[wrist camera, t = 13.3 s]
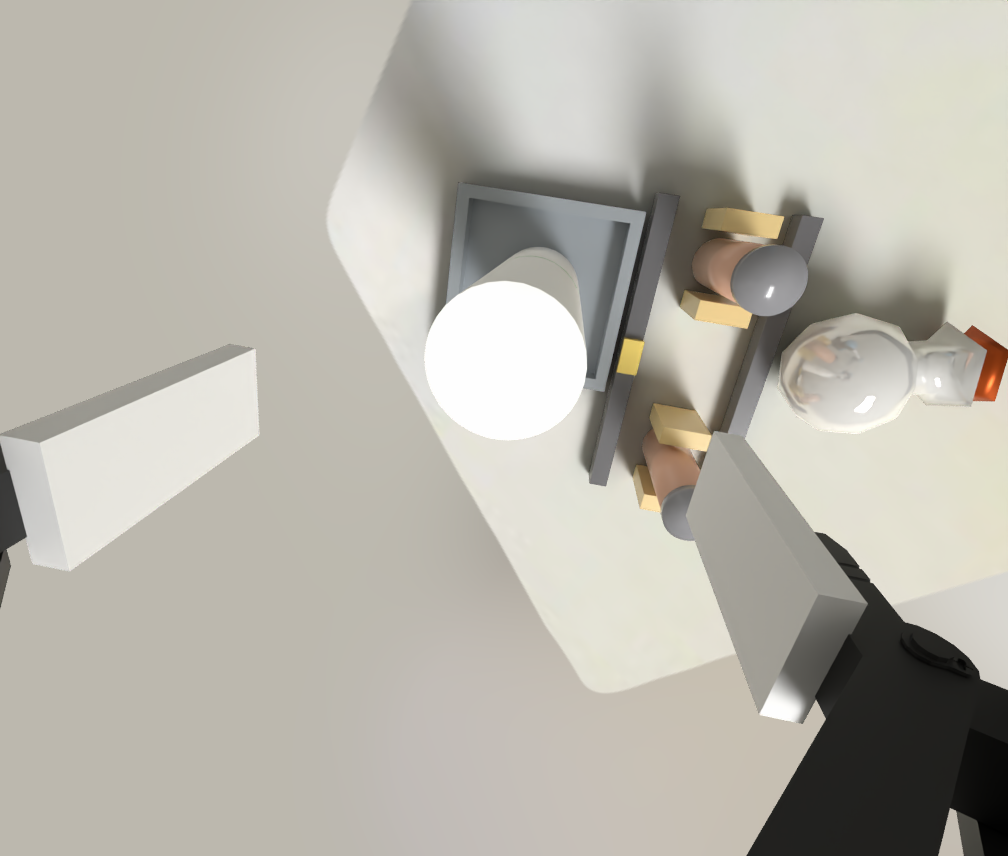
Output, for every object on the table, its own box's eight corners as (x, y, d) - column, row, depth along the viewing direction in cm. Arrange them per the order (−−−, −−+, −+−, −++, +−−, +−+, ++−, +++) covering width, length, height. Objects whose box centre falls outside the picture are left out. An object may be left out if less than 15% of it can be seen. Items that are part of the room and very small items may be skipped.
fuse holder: (655, 193, 42) (667, 190, 37) (812, 218, 42) (849, 218, 36) (588, 473, 53) (590, 504, 47) (714, 497, 52) (731, 530, 46)
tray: (464, 184, 44) (458, 182, 42) (642, 212, 43) (646, 211, 41) (445, 356, 50) (439, 362, 47) (602, 383, 49) (604, 392, 47)
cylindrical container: (480, 288, 46) (392, 361, 23) (539, 228, 44) (505, 242, 21) (535, 346, 48) (503, 469, 25) (595, 291, 45) (622, 369, 22)
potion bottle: (748, 344, 47) (916, 334, 47) (767, 449, 45) (943, 439, 45) (801, 294, 38) (1008, 281, 38) (827, 422, 36) (1049, 409, 36)
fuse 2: (698, 233, 43) (747, 240, 31) (749, 241, 43) (818, 251, 31) (684, 284, 45) (725, 310, 33) (733, 292, 45) (793, 321, 33)
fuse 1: (646, 421, 50) (671, 486, 38) (691, 429, 50) (729, 497, 38) (636, 460, 51) (656, 534, 40) (679, 468, 51) (712, 545, 39)
